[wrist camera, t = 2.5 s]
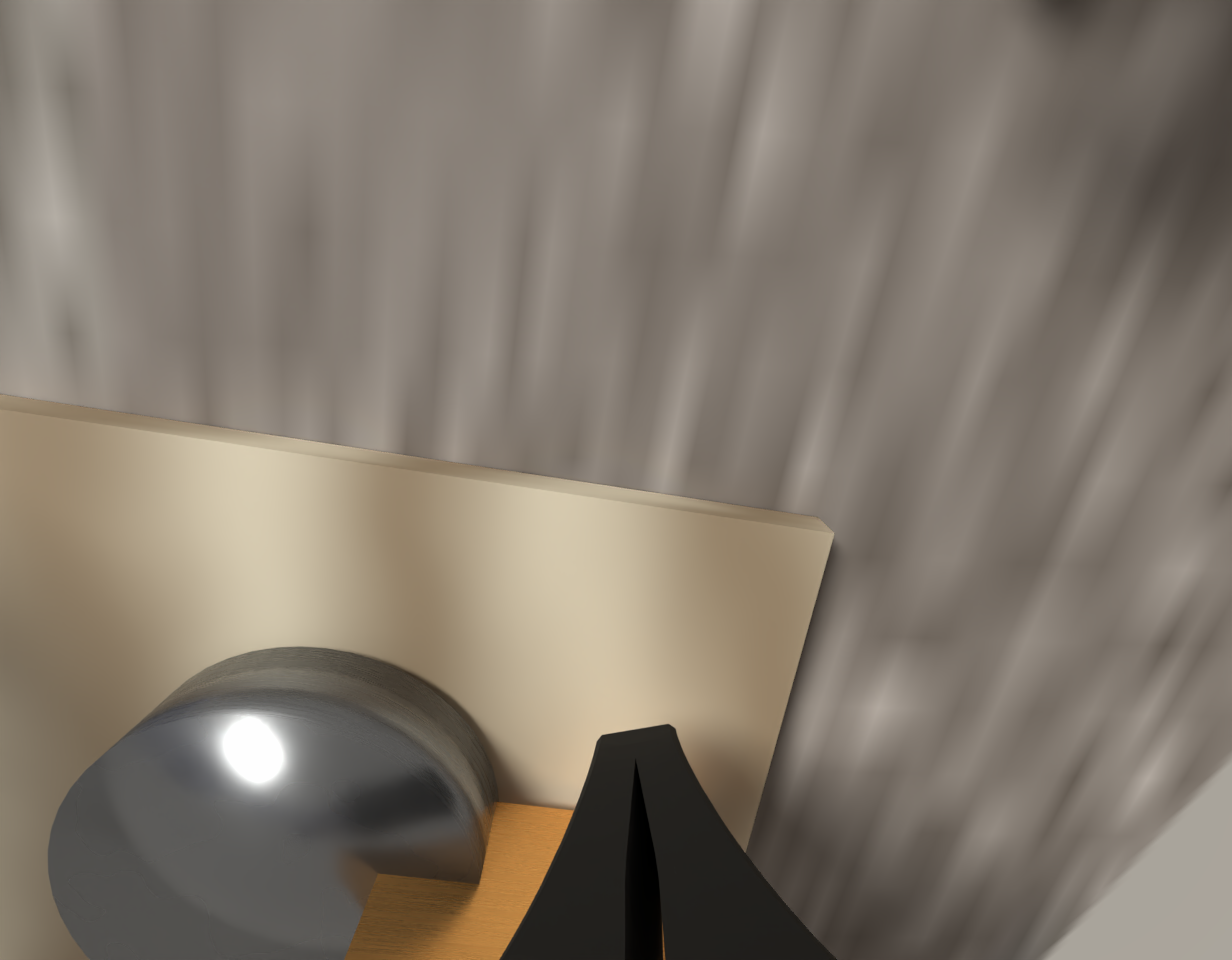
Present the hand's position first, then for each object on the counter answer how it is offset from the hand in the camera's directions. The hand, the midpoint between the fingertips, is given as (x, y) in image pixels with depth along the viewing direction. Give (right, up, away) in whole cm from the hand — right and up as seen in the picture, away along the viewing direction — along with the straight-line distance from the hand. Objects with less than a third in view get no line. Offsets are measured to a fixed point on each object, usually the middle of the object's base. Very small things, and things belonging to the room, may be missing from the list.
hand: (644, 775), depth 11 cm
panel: (-6, -3, +4) cm, 8 cm away
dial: (-5, -2, +3) cm, 6 cm away
